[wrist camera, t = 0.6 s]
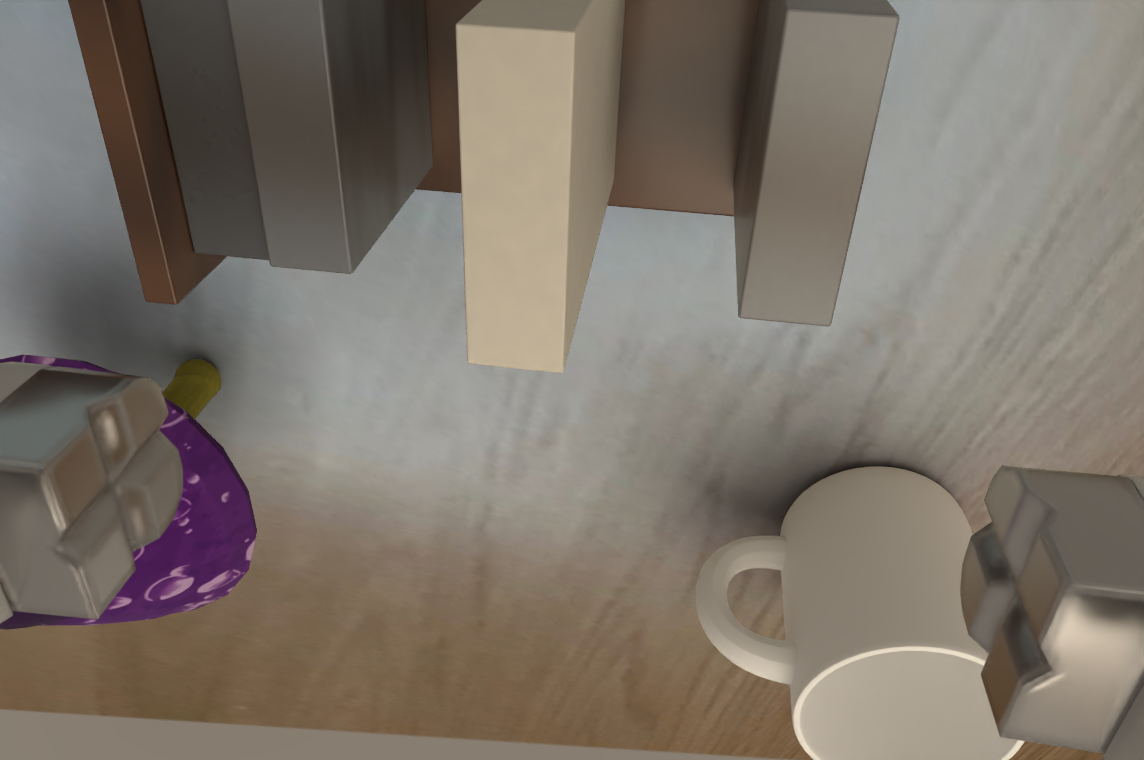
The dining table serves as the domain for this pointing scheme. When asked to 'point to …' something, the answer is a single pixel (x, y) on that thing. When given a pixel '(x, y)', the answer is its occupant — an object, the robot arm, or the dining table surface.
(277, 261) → the brown book rack
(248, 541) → the decorative mushroom
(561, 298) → the white book
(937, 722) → the mug
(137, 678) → the dining table surface
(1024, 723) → the robot arm
